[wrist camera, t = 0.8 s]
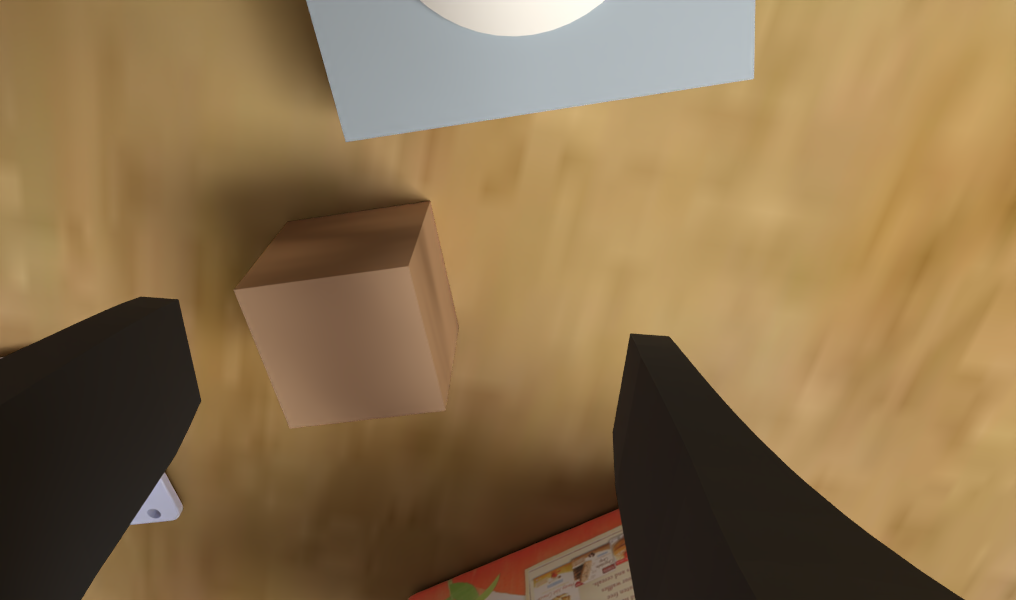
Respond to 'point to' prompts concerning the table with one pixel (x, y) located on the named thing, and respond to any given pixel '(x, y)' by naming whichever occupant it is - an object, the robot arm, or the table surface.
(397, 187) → the table surface
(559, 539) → the cracker box
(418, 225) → the walnut block
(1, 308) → the table surface
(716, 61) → the plinth
